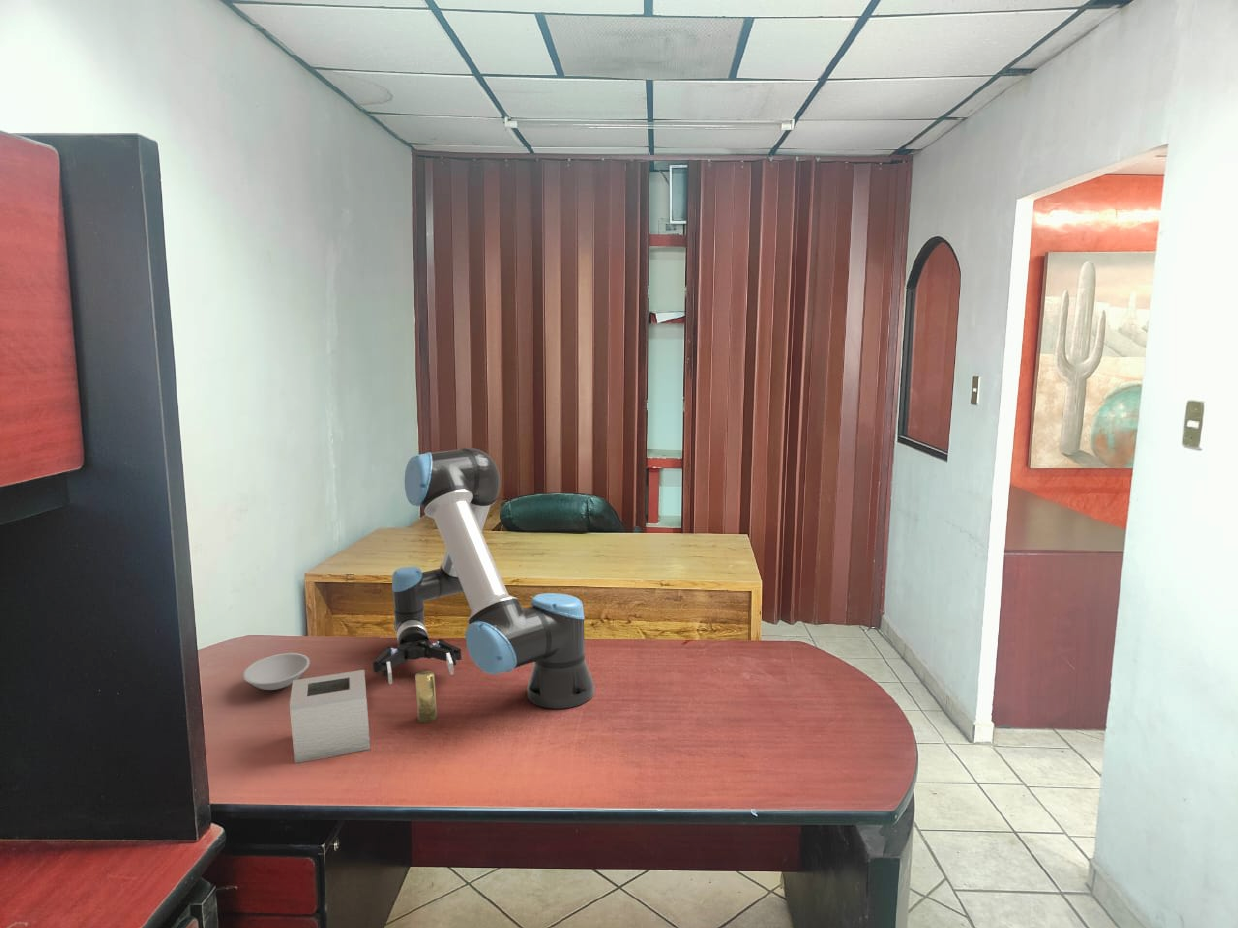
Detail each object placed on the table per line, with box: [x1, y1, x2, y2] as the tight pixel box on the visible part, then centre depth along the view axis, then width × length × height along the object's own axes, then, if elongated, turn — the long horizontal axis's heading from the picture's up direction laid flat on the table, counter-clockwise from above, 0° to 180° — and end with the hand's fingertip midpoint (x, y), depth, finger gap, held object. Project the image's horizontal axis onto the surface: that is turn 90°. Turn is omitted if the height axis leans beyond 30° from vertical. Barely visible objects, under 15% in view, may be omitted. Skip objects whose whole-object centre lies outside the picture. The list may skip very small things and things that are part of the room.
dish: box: [242, 652, 311, 691], centre depth 186 cm, size 18×14×5 cm
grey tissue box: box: [289, 669, 371, 764], centre depth 159 cm, size 14×12×12 cm
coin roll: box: [414, 670, 438, 724], centre depth 168 cm, size 4×4×10 cm
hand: (421, 673), depth 177 cm, fingers open, 13 cm apart
